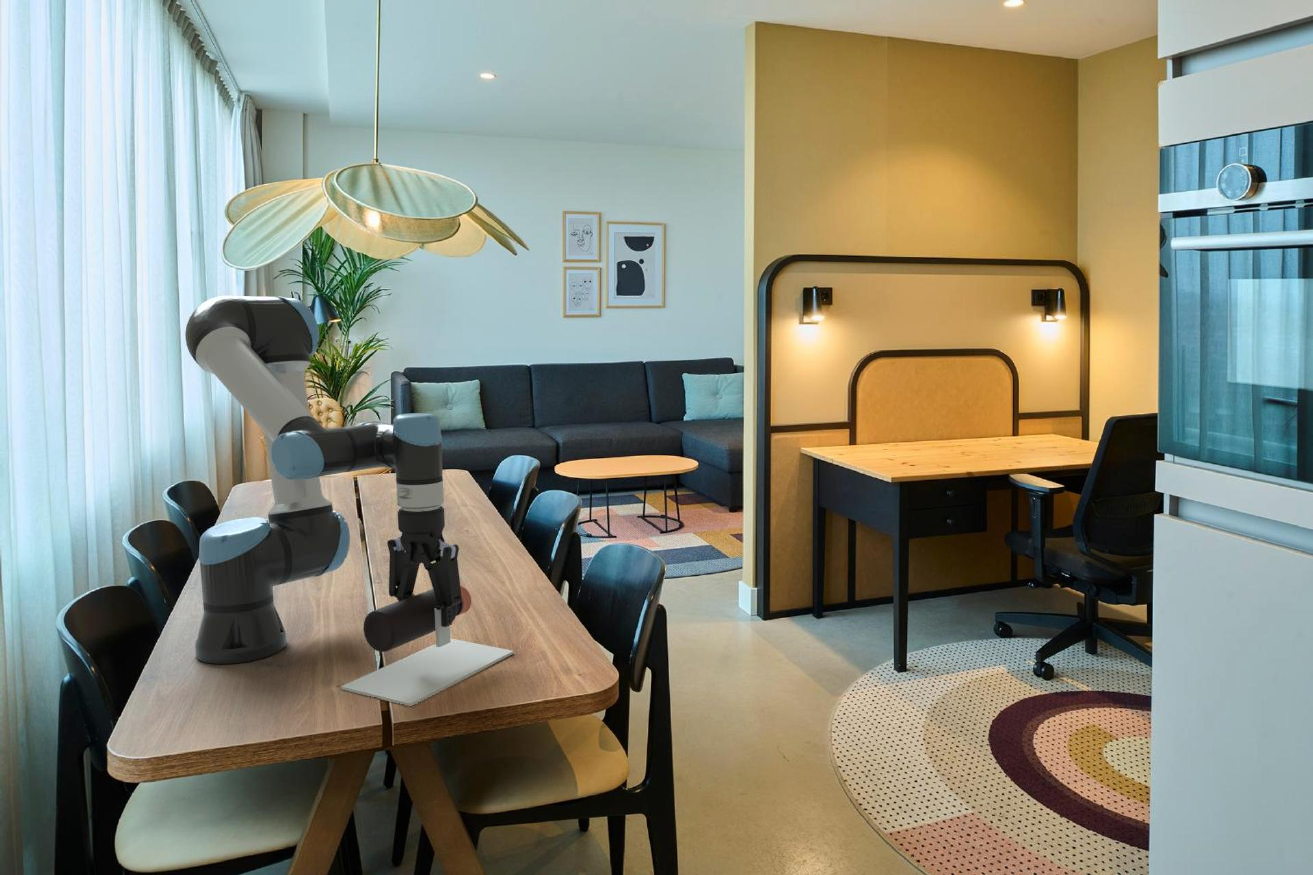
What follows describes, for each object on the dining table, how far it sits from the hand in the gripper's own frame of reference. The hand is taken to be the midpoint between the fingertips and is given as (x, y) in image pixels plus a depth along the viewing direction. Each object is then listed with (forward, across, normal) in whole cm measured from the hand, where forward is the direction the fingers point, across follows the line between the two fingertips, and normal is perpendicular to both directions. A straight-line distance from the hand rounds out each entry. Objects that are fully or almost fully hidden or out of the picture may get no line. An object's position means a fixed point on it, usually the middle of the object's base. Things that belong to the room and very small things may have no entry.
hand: (426, 640), depth 156 cm
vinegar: (-5, 0, -11) cm, 12 cm away
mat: (+6, 0, +1) cm, 6 cm away
